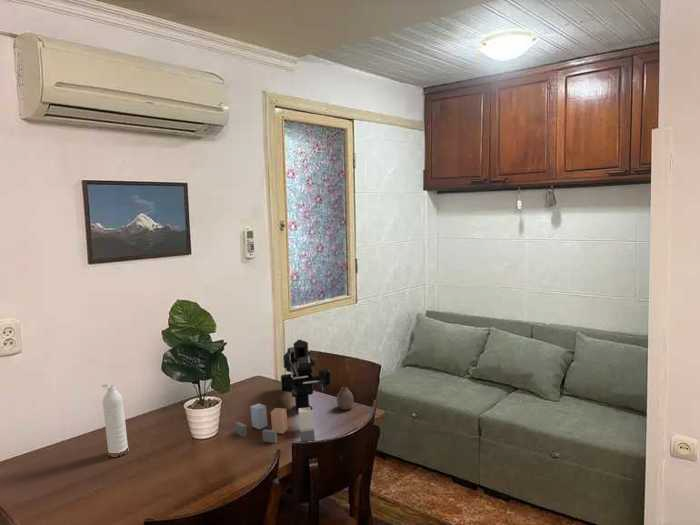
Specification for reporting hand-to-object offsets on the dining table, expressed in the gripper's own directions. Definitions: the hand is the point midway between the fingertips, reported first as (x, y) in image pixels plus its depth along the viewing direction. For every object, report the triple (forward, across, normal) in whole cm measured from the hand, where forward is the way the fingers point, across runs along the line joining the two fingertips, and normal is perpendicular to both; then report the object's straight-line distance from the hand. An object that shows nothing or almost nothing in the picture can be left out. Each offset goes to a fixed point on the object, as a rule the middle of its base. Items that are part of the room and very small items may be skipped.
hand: (309, 392), depth 196 cm
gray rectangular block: (-7, -18, +18) cm, 27 cm away
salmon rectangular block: (-1, -11, +16) cm, 20 cm away
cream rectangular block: (+2, -2, +15) cm, 15 cm away
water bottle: (-3, -69, +17) cm, 71 cm away
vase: (-13, +17, +19) cm, 29 cm away
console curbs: (+3, -14, +15) cm, 21 cm away
